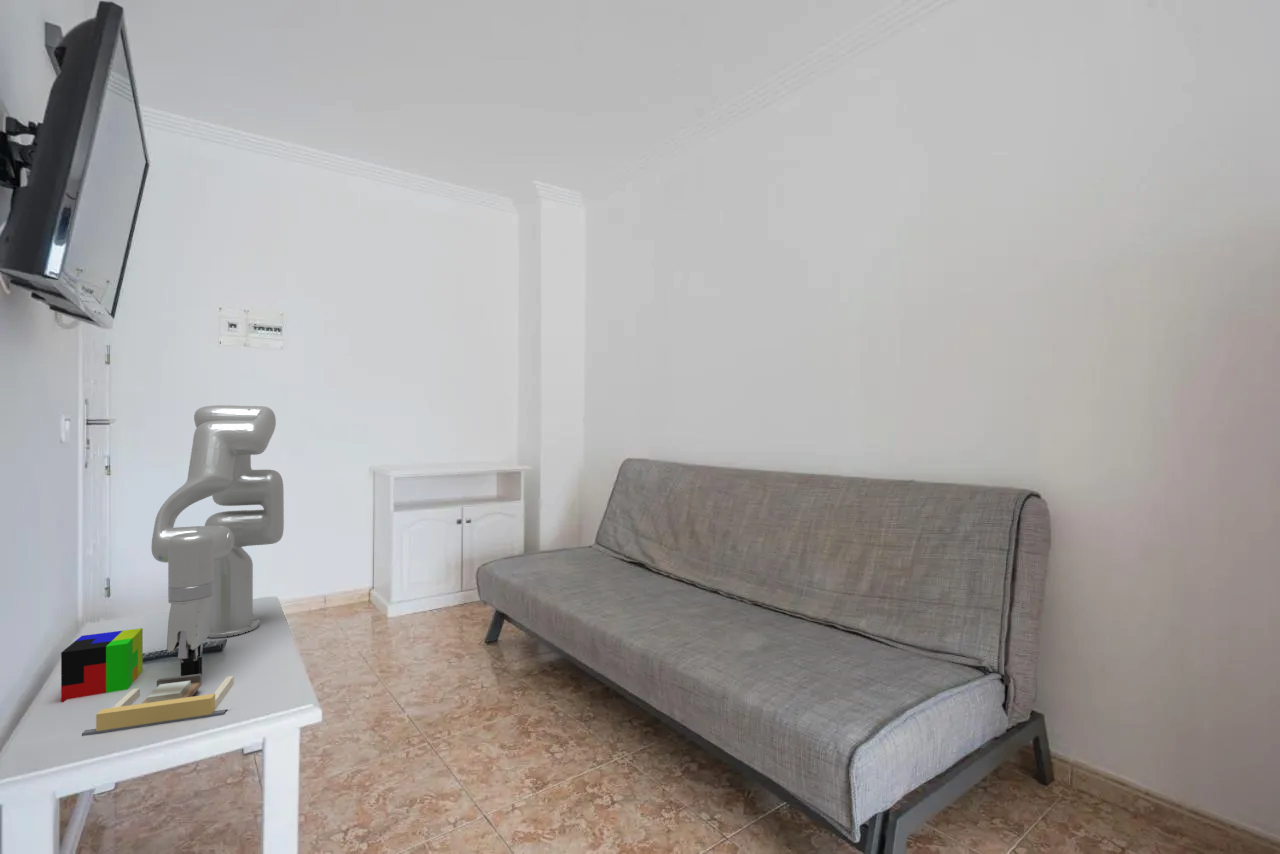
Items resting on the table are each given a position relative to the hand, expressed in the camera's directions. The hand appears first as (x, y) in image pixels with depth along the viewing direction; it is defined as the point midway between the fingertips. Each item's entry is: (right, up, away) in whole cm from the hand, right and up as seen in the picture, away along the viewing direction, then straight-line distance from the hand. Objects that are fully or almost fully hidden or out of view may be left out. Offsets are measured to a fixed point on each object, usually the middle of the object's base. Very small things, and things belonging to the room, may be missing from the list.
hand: (191, 678), depth 120 cm
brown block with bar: (+4, -1, -10) cm, 11 cm away
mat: (+2, -1, -4) cm, 5 cm away
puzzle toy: (-17, -2, -2) cm, 17 cm away
